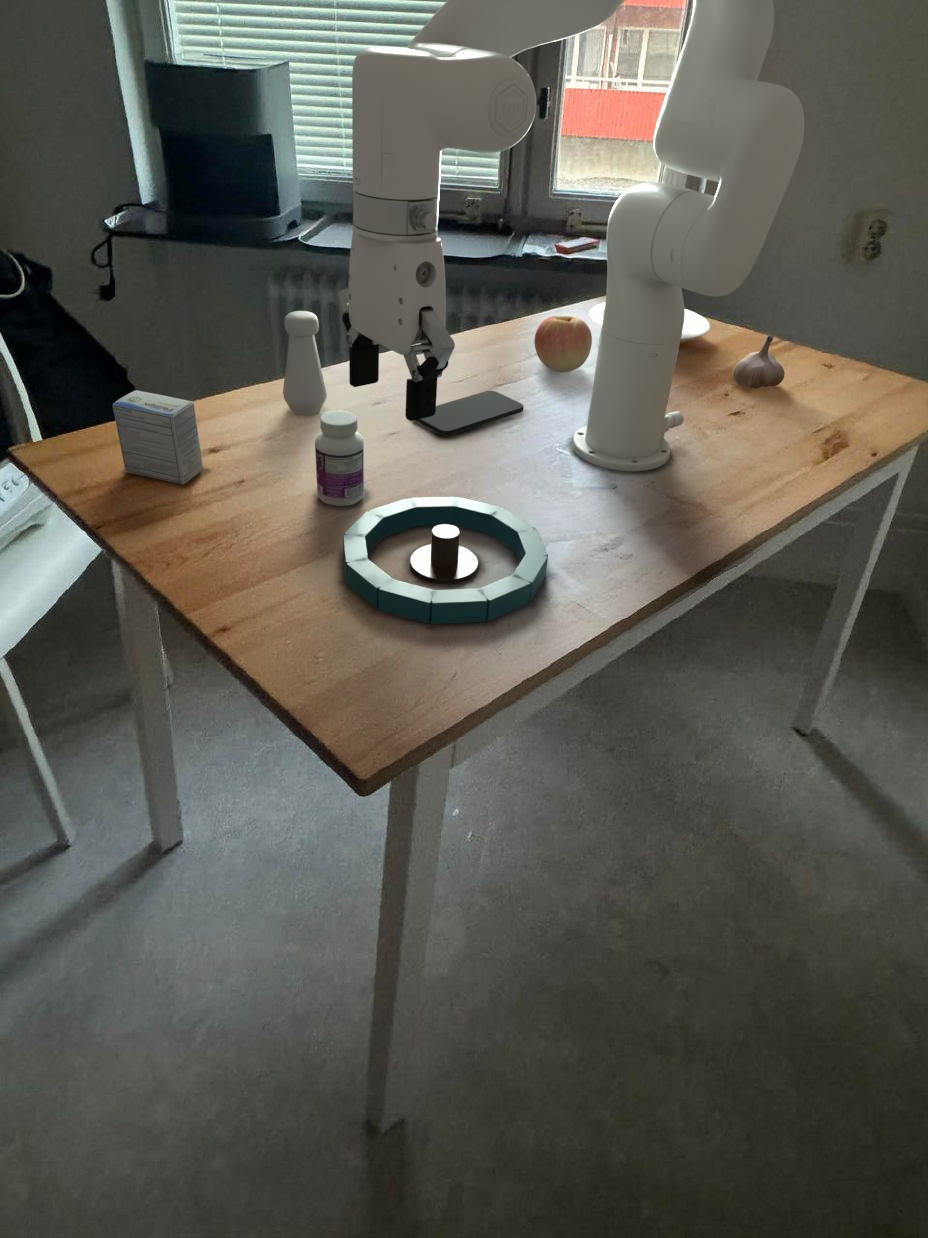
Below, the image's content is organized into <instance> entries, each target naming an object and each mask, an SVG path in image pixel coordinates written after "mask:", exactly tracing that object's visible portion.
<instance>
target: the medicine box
mask: <svg viewBox="0 0 928 1238" xmlns="http://www.w3.org/2000/svg"><path fill="white" fill-rule="evenodd" d="M112 410H113V414H114V420H115V425H116V431H117V436H118V442H119V446H120V451H121V457H122V462H123V466H124V467H123V468H124V471H125V473H129V474H135V475H138V476H143V477H147V478H148V477H149V478H151V479H157V480H161V481H166V482H169V483H175V484H180V485H182V486H183V485H186V484H187V483H188V482H189V481H191V480H192V479H193V478H195V476H197V475H198V474H199V473H201V472H202V471H203V470H204V464H203V463H204V462H203V456H202V450H201V449H202V448H201V442H200V435H199V428H198V422H197V413H196V408H195V403H194V402H193V401H192V400H187V399H182V398H177V397H173V396H168V395H163V394H158V393H152V392H147V391H143V390H133V391H131V392H129V393H127V394H125V395H124V396H122V397H120V398H119V399H117V400H116V401H115V402H113V403H112Z"/></svg>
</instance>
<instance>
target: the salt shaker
mask: <svg viewBox="0 0 928 1238" xmlns="http://www.w3.org/2000/svg"><path fill="white" fill-rule="evenodd" d="M283 323H284V329H285V332H286V333H287V334H289V338H288V346H287V353H286V354H287V355H286V361H285V371H284V379H283V388H282V394H283V395H282V396H283V398H284V401H285V402H286V405H287V406H288V408H289V410H290V411H291V413H292V414H293V415H294V416H297V417H298V416H299V417H305V418H308V417H312V416H316V415H317V416H318V415H320V412H321V410H322V408H323V406H324V405H325V402H326V400H327V397H328V392H327V389H326V384H325V380H324V375H323V370H322V366H321V361H320V356H319V351H318V346H317V341H316V337H315V336H316V334H317V333H318V332H319V329H320V325H319V323H320V322H319V319H318V317H317V315H316V313H313V312H311V311H307V310H295V311H291V312H289V313H287V315H286V316H284V322H283Z"/></svg>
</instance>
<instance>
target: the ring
mask: <svg viewBox="0 0 928 1238" xmlns="http://www.w3.org/2000/svg"><path fill="white" fill-rule="evenodd" d="M442 524H448V525H453V526H455V527H459V528H463V529H468V530H471V531H475V532H479V533H484V534H488V535H491V536H492V537H493V538H495V540H498V541H499V542H501V543H503V544H504V545H505V546H507V547H508V548H510V549H511V550H512V551H515V554H516V557H517V559H518V562H519V564H518V565H517V567H516V568H515V570H514V571H513V573H512V574H509V575H508V576H506V577H503V578H501V579H499V580H496V581H493V582H491V583H489V584H486V585H484V586H482V587H479V588H459V589H458V588H455V589H432V588H428V587H424V586H421V585H417V584H413V583H409V582H406V581H401V580H398V579H394V578H392V576H390V575H388V574H387V573H386V572H385V571H384V570H383V569H381V568H380V567H379V566H377V565H376V564H375V563H374V562H373V561H371V560H370V559H369V558H368V554H369V553H370V552H371V551H372V550H373V548H374V547H376V546H377V544H378V543H379V542H380V541H381V540H382V539H383V538H385V537H387V536H391V535H394V534H396V533H397V534H398V533H399V532H403V531H405V530H409V529H411V528H414V527H435V526H437V525H442ZM342 544H343V545H342V546H343V563H344V577H345V583H346V585H348V587H350V588H351V589H352V590H353V591H355V592H356V593H357V594H358V595H359V596H360V597H362V598H363V599H364V600H365V601H366V602H367V603H369V604H370V605H371V606H372V607H373V608H375V609H376V610H378V611H380V612H384V613H388V614H392V615H394V616H398V617H402V618H406V619H409V620H412V621H416V622H420V623H423V624H427V625H430V624H431V625H443V624H444V625H445V624H466V623H467V624H469V623H486V622H490V621H492V620H495V619H496V618H499V617H501V616H504V615H506V614H508V613H511V612H512V611H515V610H518V609H520V608H521V607H525V606H526V605H528V604H530V603H531V601H532V600H533V598H534V596H535V595H536V594H537V591H538V590H539V588H540V586H541V585H542V583H543V581H544V580H545V578H546V575H547V568H548V560H549V554H548V552H547V549H546V546H545V545H544V543H543V540H542V538H541V536H540V533H539V531H538V529H536V527H535V526H533V525H531V524H530V523H528V522H527V521H526V520H523V519H522V518H520V516H517V515H516V514H514V513H513V512H511V511H509V510H508V509H506V508H504V507H503V506H498V505H495V504H490V503H485V502H481V501H477V500H473V499H469V498H465V497H459V496H427V497H426V496H423V497H421V496H419V497H418V496H417V497H406V498H403V499H399V500H397V501H394V502H391V503H387V504H384V505H381V506H378V507H375V508H372V509H368V510H367V511H365V512H364V513H363V514H362V515H361V516H360V517H359V518H358V519H357V520H356V521H355V522H354V523H353V524H352V525H351V526H350V527H349V528H348V529H347V530H346V531H345V532H344V533H343V535H342Z"/></svg>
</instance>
